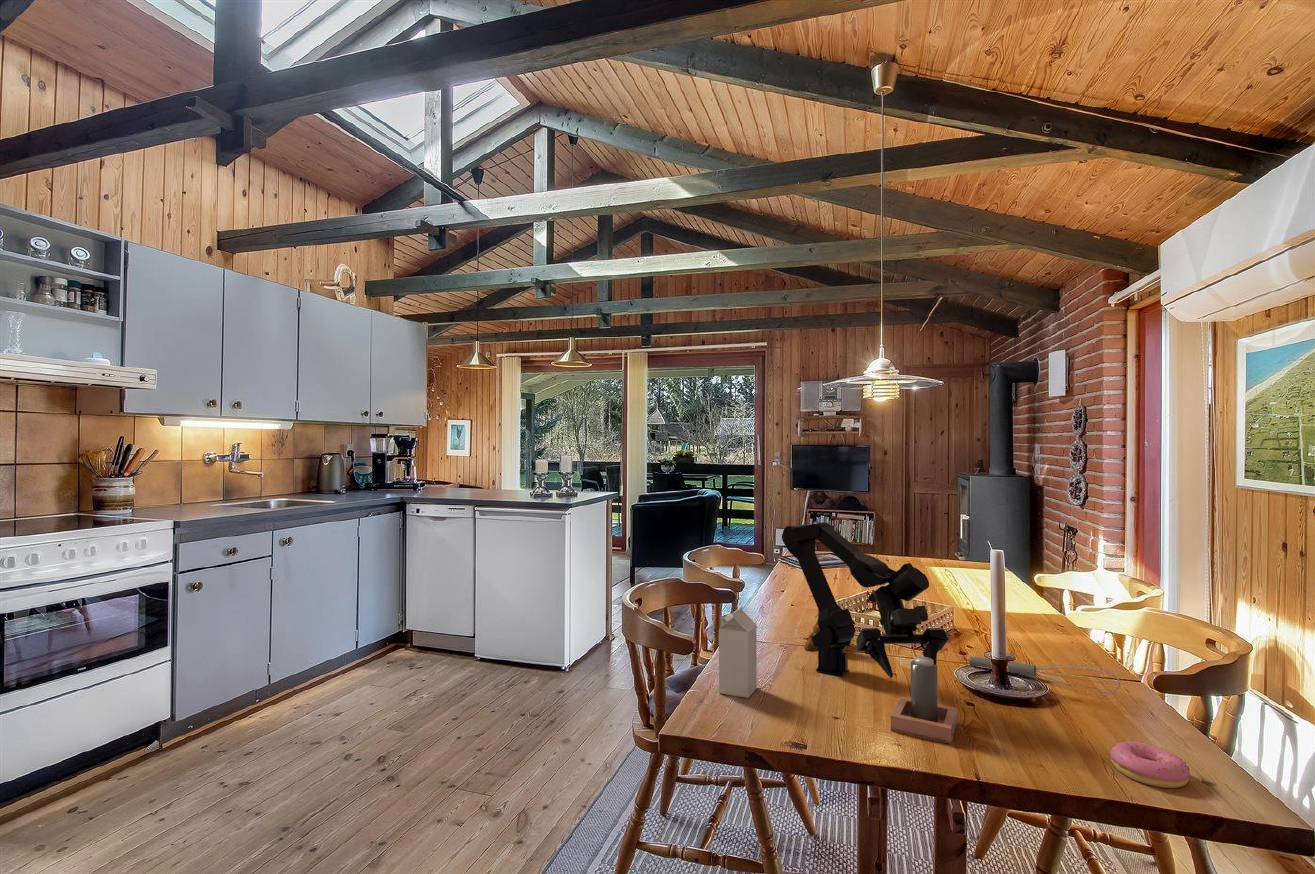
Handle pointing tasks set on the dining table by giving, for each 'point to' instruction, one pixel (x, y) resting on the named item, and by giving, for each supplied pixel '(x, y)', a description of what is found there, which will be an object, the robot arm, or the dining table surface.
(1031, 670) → the kitchen whisk
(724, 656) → the milk carton
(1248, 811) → the dining table surface
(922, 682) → the pepper mill
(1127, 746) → the doughnut
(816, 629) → the stuffed squirrel
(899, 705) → the terracotta holder
